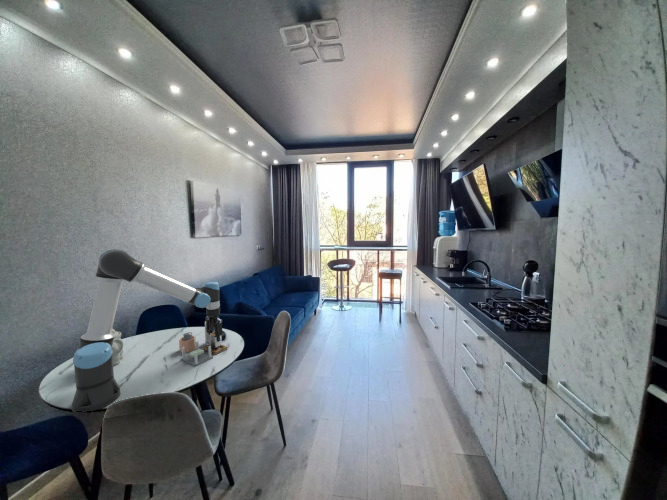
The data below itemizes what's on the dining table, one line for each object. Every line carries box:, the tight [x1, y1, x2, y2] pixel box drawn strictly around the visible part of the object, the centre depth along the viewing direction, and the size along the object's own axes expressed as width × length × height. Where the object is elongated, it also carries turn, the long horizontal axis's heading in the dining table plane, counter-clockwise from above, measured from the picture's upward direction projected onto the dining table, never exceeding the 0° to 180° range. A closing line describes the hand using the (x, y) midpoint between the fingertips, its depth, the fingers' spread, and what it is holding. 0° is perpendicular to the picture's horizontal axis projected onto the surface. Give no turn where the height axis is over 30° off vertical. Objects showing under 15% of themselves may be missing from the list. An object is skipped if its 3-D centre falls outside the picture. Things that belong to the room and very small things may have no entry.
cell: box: [210, 331, 219, 349], centre depth 152 cm, size 5×5×10 cm
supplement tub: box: [204, 320, 223, 346], centre depth 162 cm, size 10×10×15 cm
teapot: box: [111, 327, 124, 367], centre depth 137 cm, size 16×15×19 cm
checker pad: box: [188, 348, 205, 357], centre depth 142 cm, size 6×4×2 cm, turn 150°
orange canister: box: [178, 331, 197, 354], centre depth 153 cm, size 8×8×10 cm
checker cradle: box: [180, 341, 214, 367], centre depth 142 cm, size 10×14×7 cm
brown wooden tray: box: [202, 343, 228, 356], centre depth 153 cm, size 8×12×2 cm, turn 60°
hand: (214, 345), depth 153 cm, fingers closed on cell, 4 cm apart
